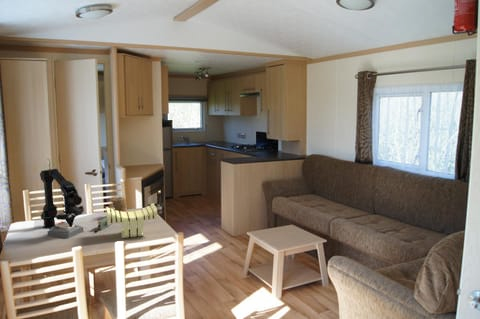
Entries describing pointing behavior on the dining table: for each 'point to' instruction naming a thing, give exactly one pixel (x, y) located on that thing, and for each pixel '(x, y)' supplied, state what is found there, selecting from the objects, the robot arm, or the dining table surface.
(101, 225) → the handheld radio
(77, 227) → the frame
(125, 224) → the slatted curved stool
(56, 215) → the robot arm
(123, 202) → the stone cup
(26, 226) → the dining table surface
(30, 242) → the dining table surface
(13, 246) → the dining table surface
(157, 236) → the dining table surface
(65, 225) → the breaker switch
